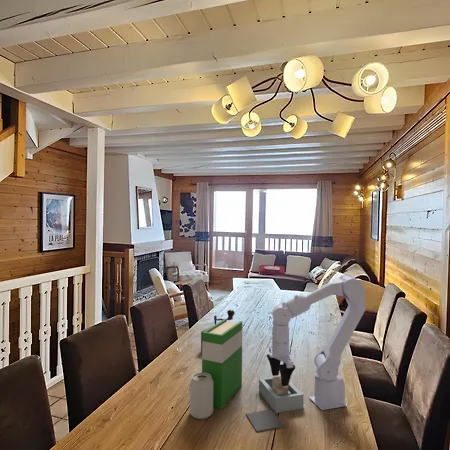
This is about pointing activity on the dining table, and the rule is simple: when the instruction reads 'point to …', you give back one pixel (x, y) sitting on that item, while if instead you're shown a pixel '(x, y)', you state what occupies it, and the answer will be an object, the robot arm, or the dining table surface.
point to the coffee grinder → (230, 317)
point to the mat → (265, 420)
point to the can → (201, 395)
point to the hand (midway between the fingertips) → (280, 380)
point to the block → (279, 386)
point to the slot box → (281, 396)
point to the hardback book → (223, 359)
